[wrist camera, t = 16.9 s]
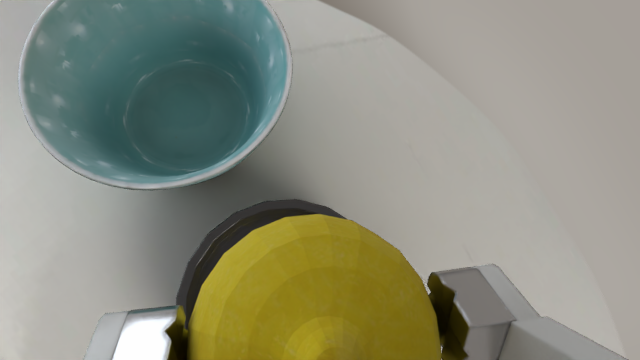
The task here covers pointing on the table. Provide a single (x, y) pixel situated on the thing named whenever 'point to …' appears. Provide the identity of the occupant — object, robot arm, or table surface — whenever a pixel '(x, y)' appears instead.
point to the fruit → (313, 298)
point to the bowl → (154, 87)
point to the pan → (235, 242)
